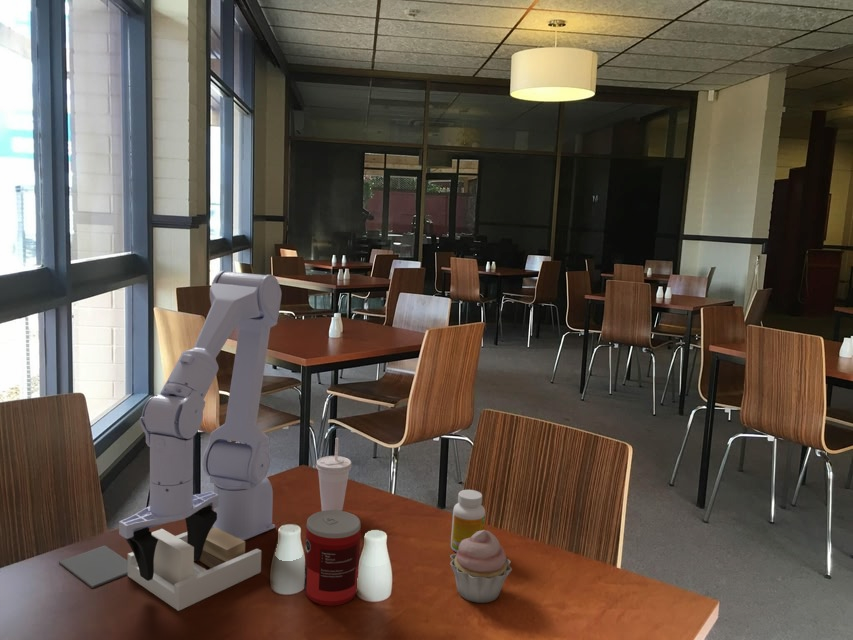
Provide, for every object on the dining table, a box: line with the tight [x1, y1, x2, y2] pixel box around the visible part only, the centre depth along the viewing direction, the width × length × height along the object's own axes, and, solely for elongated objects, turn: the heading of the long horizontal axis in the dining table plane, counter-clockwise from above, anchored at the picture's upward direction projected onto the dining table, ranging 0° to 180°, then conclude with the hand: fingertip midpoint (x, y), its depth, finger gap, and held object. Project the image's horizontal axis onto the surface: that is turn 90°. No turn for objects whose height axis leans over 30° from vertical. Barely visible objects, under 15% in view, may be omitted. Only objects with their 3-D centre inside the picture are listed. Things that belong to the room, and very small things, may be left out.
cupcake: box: [449, 529, 513, 604], centre depth 101 cm, size 9×9×10 cm
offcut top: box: [203, 527, 246, 562], centre depth 105 cm, size 4×7×2 cm, turn 56°
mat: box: [58, 545, 128, 589], centre depth 102 cm, size 7×10×1 cm
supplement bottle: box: [450, 489, 486, 554], centre depth 114 cm, size 5×5×10 cm
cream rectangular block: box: [151, 528, 195, 585], centre depth 98 cm, size 2×8×7 cm, turn 52°
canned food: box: [303, 510, 362, 607], centre depth 99 cm, size 8×8×11 cm
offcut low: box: [198, 550, 225, 569], centre depth 105 cm, size 4×9×2 cm, turn 50°
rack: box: [127, 526, 262, 612], centre depth 102 cm, size 14×13×4 cm
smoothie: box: [315, 437, 352, 511], centre depth 125 cm, size 6×6×14 cm
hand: (171, 567), depth 98 cm, fingers open, 7 cm apart
